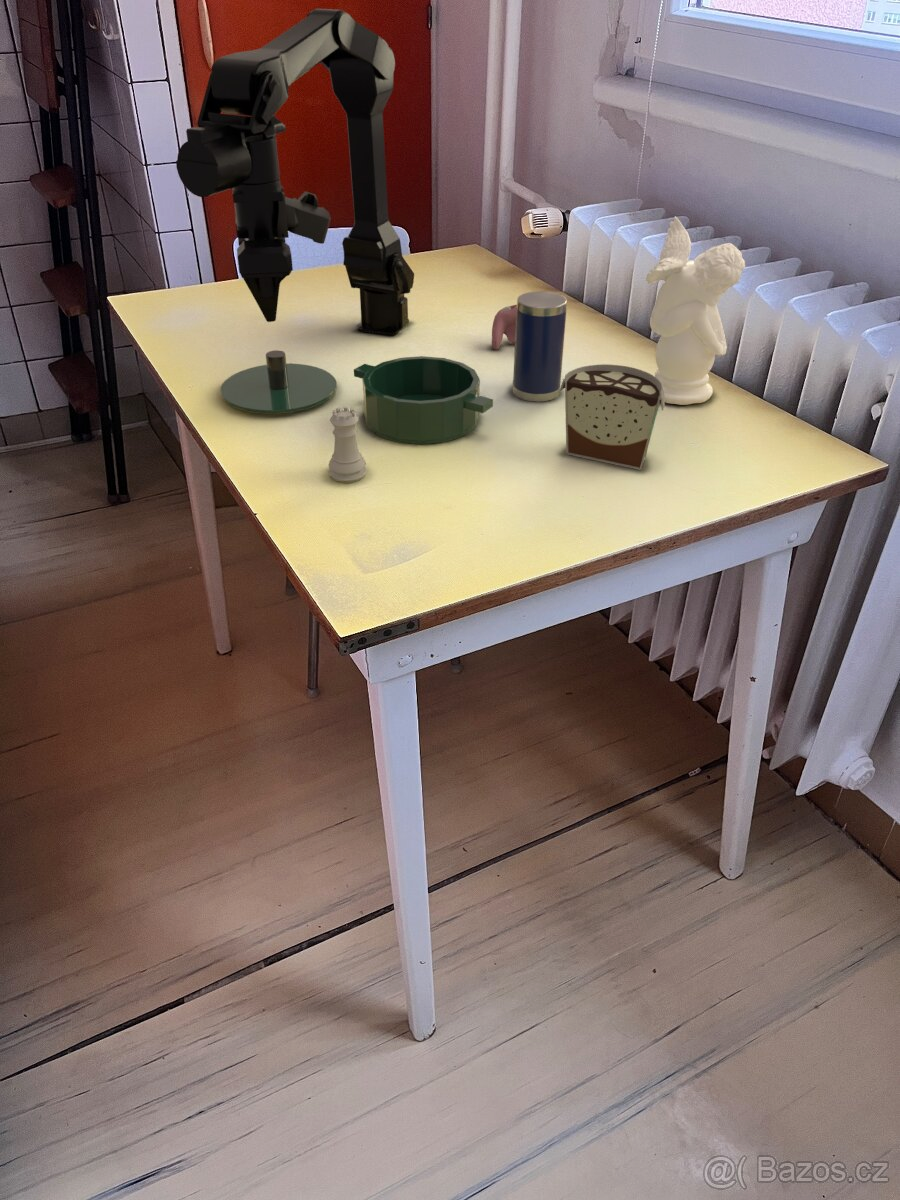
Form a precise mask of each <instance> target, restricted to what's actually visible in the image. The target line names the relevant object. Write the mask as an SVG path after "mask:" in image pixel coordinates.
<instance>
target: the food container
mask: <svg viewBox="0 0 900 1200" xmlns="http://www.w3.org/2000/svg"><path fill="white" fill-rule="evenodd" d="M563 390H564V400H565V401H564V407H565V408H564V409H565V410H564V411H565V454H566V455H568V456H574V457H577V458H583V459H587V460H592V461H597V462H601V463H606V464H610V465H616V466H620V467H625V468H629V469H634V470H637V471H638V470H639V471H642V469H643V467H644V464H645V461H646V456H647V452H648V449H649V445H650V441H651V437H652V434H653V429H654V426H655V423H656V418H657V414H658V411H659V408H660V407H661V411H664V410H665V408H666V407H665V405H666V402H665V400H664V390H663V388H662V384H661V382H660V381H659V380H658V379H657V378H656V377H655V375H653V374H652V373H649V372H647V371H645V370H643V369H639V368H636V367H632V366H627V365H622V364H621V365H619V364H610V363H609V364H605V363H603V364H590V365H585V366H584V365H583V366H581V367H577V368H574V369H572V370H571V371H568V372H567V373H566V374H565V376H564V378H563V379H562V380H561V384H560V392H563ZM660 403H661V406H660ZM659 406H660V407H659Z"/></svg>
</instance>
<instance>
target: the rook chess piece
mask: <svg viewBox="0 0 900 1200" xmlns="http://www.w3.org/2000/svg"><path fill="white" fill-rule="evenodd" d="M331 413H332V415H331V416H330V418H329V422H330V424H331V425H332V426H333V430H332V434H333V436H334V447H333V453H332V455H331V457H330V459H329V461H328V468H329V469H328V475H329V476H330V477H331V478H332V480H334V481H336V482H338V483H341V484H342V483H343V484H351V483H356V482H359V481H361V480H362V479H363V478H364V477H365V475H366V474H367V471H368V470H367V467H366V465H367V463H366V459H365V457H364V456H363V455H362V453H361V452H360V450H359V447H358V441H357V434H358V429H357V427H356V425H357V424H358V422H359V420H360V419H359V418H360V417H359V416H358V415H357V414H356V411H355V409H354V408H353V407H351V408H349V406H343V410H341V407H340V406H339V407H336V408H335V409H334V410H332V412H331Z"/></svg>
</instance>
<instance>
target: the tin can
mask: <svg viewBox="0 0 900 1200" xmlns="http://www.w3.org/2000/svg"><path fill="white" fill-rule="evenodd" d="M516 305H517V311H516V332H515V343H514V352H513V353H514V355H513V375H512V376H513V377H512V392H513V394H514V396H515V397H517V398H519V399H520V400H523V401H528V402H538V403H540V402H547V401H548V402H549V401H551V400H554V399H556V398H558V396H559V395H560V392H561V391H560V388H561V385H562V371H563V357H564V345H565V333H566V332H565V331H566V319H567V306H568V300H567V298H566V297H565V296H564V295H562V294H559V293H557V292H551V291H529V292H525V293H522V294H520V295H518V296H517V299H516Z"/></svg>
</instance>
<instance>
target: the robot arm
mask: <svg viewBox="0 0 900 1200" xmlns="http://www.w3.org/2000/svg"><path fill="white" fill-rule="evenodd" d="M318 64H321V65H322V66H323V67H324V68H325V69H326V70H327V71H328V72H329V75H330V81H331V88H332V92H333V94H334V95H335V97H336V99H337V101H338V102H339V104H340V105H341V107H342V109H343V111H344V113H345V114H346V125H347V137H348V148H349V149H348V150H349V151H348V152H349V165H350V177H351V180H350V181H351V192H352V205H353V218H354V219H353V220H354V223H353V226H352V228H351V230H350V231H349V234H348V236H345V237H343V239H342V243H341V245H342V249H343V262H342V263H343V266H344V267H345V271H346V274H347V277H348V281H349V284H350V288H351V289H359V303H360V322H361V323H360V324H359V325H357V327H356V330H357V331H358V332H364V333H372V334H379V335H388V336H397V335H398V334H399V333H400V332H401V331H402V330H403V329H404V328H405V327H406V326H407V325H408V324H409V323H410V319H409V306H408V305H409V304H408V302H409V301H408V297H407V296H405V294H410V293H411V290H412V289H413V288H414V287H413V286H414V282H415V281H414V280H415V272H414V270H412V268H411V267H410V266H409V264H408V263H407V260H406V259H405V258H404V256H403V251H402V243H401V238H400V237H399V235H398V234H397V231H396V230H395V228H394V227H393V225H392V223H391V222H390V219H389V209H388V207H389V205H388V188H387V171H386V169H387V167H386V151H385V133H384V109H385V107H386V106H387V103H388V101H389V99H390V97H391V95H392V93H393V91H394V73H395V68H396V59H395V54H394V52H393V49H392V47H389V44H388V43H387V41H386V40H385V39H383V38H382V37H381V36H380V35H379V34H377V33H375V32H374V31H372V30H371V29H369V28H367V27H365V26H364V25H362V24H360V23H359V22H357V21H356V20H355V19H354V18H353V17H352V16H351V14H349V13H348V12H346V11H344V10H343V9H333V8H332V9H331V8H314V9H313V10H310V11H309V12H307V14H306V17H305V18H303V19H301V20H300V21H299V22H297V23H296V24H294V25H293V26H292V27H290V28H288V29H287V30H285V31H284V32H282V33H281V34H280V35H278V36H276V37H275V38H273V39H272V40H270V41H269V42H267V43H266V44H264V45H263V46H262V47H260V48H256V49H252V50H251V49H250V50H245V51H238V52H233V53H230V54H226V55H223V56H220V57H218V58H217V59H216V60H215V61H214V62H213V64H212V65H211V68H210V70H211V72H210V74H209V78H208V81H207V85H206V89H205V92H204V95H203V99H202V104H201V108H200V111H199V114H198V118H197V121H196V125H197V127H196V126H195V127H188V128H186V130H185V132H186V133H185V134H186V139H187V141H185V142H184V143H183V144H182V145H181V146H180V148H179V149H178V153H177V159H176V161H175V165H176V171H177V175H178V177H179V179H180V182H181V183H182V184H183V187H185V189H187V190H188V191H189V192H190V193H191V194H193V195H194V196H196V197H199V198H207V197H210V196H214V195H216V194H219V193H222V192H226V191H228V190H231V189H232V199H233V201H232V202H233V204H234V205H233V206H234V213H235V218H234V219H235V221H234V222H235V231H236V238H237V242H238V247H237V248H236V252H237V253H236V254H237V255H236V257H237V263H238V264H237V265H238V273H239V274H240V276H241V278H242V279H243V281H244V283H245V284H246V286H247V288H248V290H249V291H250V294H251V295H252V297H253V298H254V300H255V302H256V304H257V306H258V308H259V310H260V311H261V313H262V316H263V318H264V319H265V320H266V323H267V322H268V323H271V322H272V323H274V322H276V320H277V314H278V304H279V303H278V302H279V295H280V286H281V282H282V281H283V280H284V279H285V278H286V277H289V276H290V275H291V273H292V271H293V270H294V269H293V257H292V251H291V246H290V245H289V244H288V243H287V242H286V239H287V238H288V239H289V236H290V235H289V233H291V234H294V235H297V236H300V237H303V238H305V239H310V240H312V241H313V243H317V244H322V245H323V244H325V242H326V238H327V234H328V231H329V227H330V223H331V220H332V217H331V214H330V212H329V211H328V210H327V209H326V208H325V207H323V206H321V207H320V206H319V201H318V197H317V195H316V194H315V193H313V192H312V193H311V192H309V191H306V190H305V191H304V192H303V193H302V194H301V195H300V196H299V197H298V198H297V197H293V198H290V197H288V196H285V195H286V194H285V192H284V187H283V185H281V177H280V165H279V157H278V145H277V144H278V143H277V136H276V135H278V134H282V133H285V132H286V129H287V128H286V127H287V126H286V125H285V124H284V123H283V121H281V120H279V119H278V118H277V117H276V116H275V114H276V113H278V112H279V110H280V109H281V107H283V105H284V104H285V103H286V102H287V100H288V99H289V89H290V86H291V85H292V84H293V83H294V82H295V81H297V80H298V79H299V78H301V77H302V76H303V75H305V74H306V73H308V72H309V71H310V70H311V69H313V68H315V66H317V65H318Z"/></svg>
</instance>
